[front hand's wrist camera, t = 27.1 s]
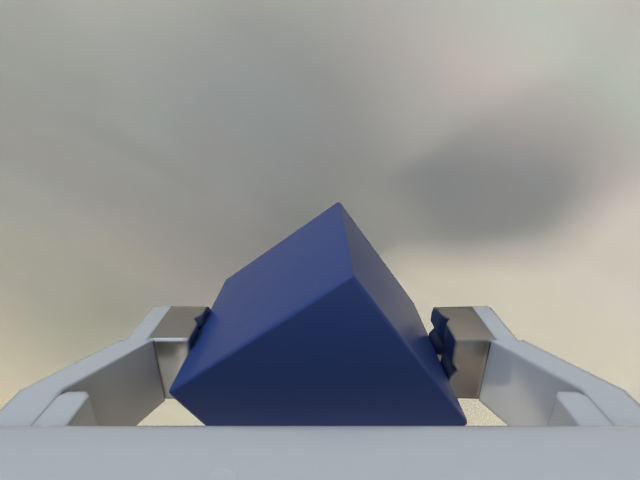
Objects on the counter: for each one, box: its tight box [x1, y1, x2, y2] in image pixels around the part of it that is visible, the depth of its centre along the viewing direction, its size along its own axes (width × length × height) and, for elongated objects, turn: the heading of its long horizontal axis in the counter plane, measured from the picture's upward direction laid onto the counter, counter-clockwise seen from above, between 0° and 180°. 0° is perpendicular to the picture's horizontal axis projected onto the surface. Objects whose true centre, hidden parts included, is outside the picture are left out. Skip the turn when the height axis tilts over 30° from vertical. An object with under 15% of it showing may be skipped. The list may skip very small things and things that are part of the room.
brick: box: [169, 203, 467, 426], centre depth 10 cm, size 4×5×5 cm
